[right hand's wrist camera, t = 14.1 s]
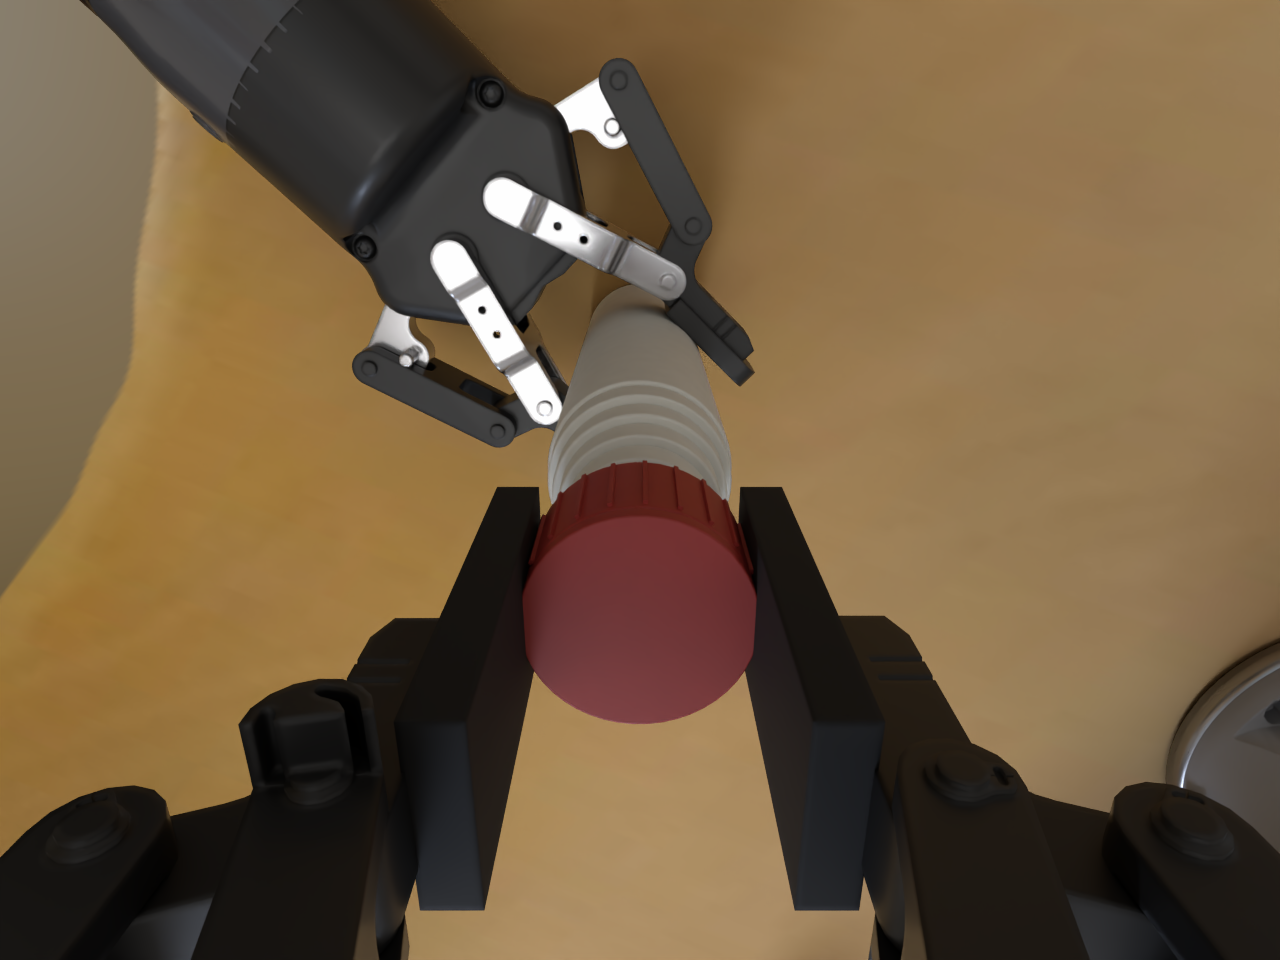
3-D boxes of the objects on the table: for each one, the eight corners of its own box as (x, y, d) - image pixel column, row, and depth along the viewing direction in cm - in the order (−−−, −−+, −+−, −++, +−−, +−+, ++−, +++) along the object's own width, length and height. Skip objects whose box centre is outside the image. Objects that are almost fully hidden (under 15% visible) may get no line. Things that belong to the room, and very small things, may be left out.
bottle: (568, 319, 34) (450, 570, 13) (657, 263, 33) (686, 432, 12) (623, 403, 35) (599, 756, 14) (709, 352, 34) (820, 645, 13)
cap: (719, 661, 16) (732, 743, 13) (520, 628, 15) (499, 706, 13) (768, 479, 14) (792, 537, 12) (549, 439, 14) (533, 491, 12)
